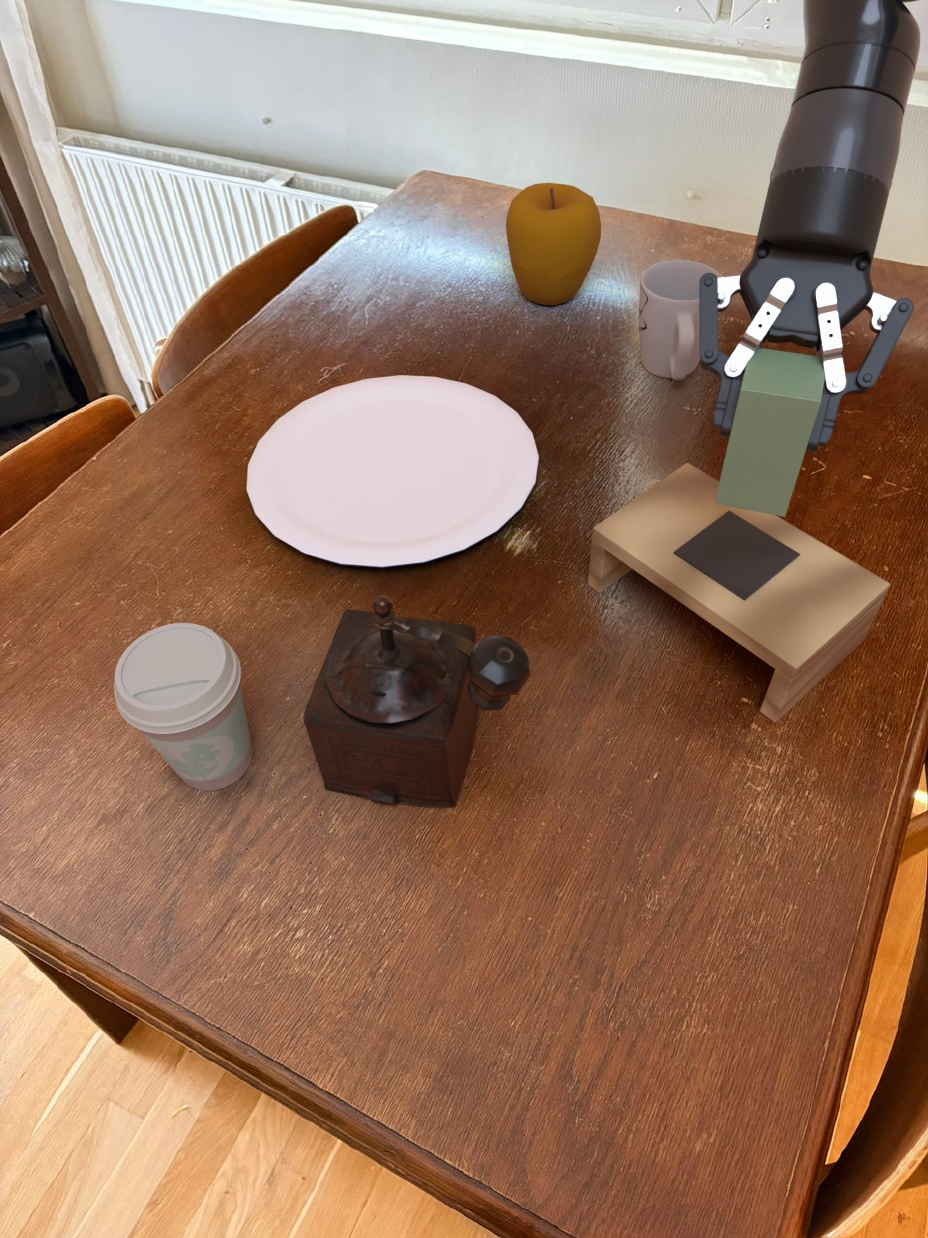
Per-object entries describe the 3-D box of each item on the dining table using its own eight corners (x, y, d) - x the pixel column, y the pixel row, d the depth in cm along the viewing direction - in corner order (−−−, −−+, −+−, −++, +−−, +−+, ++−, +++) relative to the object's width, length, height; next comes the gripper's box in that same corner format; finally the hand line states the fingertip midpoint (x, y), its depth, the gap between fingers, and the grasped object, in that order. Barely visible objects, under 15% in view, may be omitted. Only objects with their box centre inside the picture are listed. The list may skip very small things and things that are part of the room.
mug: (717, 400, 96) (735, 316, 88) (638, 402, 96) (648, 318, 88) (701, 340, 103) (716, 257, 95) (627, 342, 103) (636, 260, 96)
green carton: (792, 472, 67) (827, 357, 59) (784, 517, 64) (821, 401, 56) (724, 461, 68) (750, 346, 61) (714, 503, 65) (740, 388, 58)
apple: (607, 280, 113) (616, 175, 103) (576, 324, 106) (582, 217, 97) (526, 265, 116) (527, 162, 106) (492, 307, 110) (489, 201, 100)
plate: (578, 539, 83) (579, 526, 82) (265, 607, 79) (261, 594, 78) (494, 366, 102) (493, 352, 100) (237, 414, 98) (233, 401, 97)
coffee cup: (138, 788, 68) (79, 697, 59) (197, 701, 73) (151, 604, 64) (236, 822, 66) (191, 732, 57) (290, 729, 71) (256, 633, 62)
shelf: (864, 640, 74) (892, 581, 69) (775, 723, 69) (797, 667, 64) (676, 519, 84) (687, 460, 79) (587, 584, 79) (592, 525, 74)
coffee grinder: (317, 797, 67) (266, 648, 53) (357, 679, 74) (322, 520, 60) (523, 831, 64) (525, 684, 51) (545, 706, 71) (552, 546, 57)
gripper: (718, 150, 57) (659, 418, 59) (962, 173, 53) (890, 456, 55) (717, 197, 64) (664, 433, 66) (931, 219, 61) (868, 468, 63)
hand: (767, 442), depth 61 cm, fingers closed on green carton, 5 cm apart
